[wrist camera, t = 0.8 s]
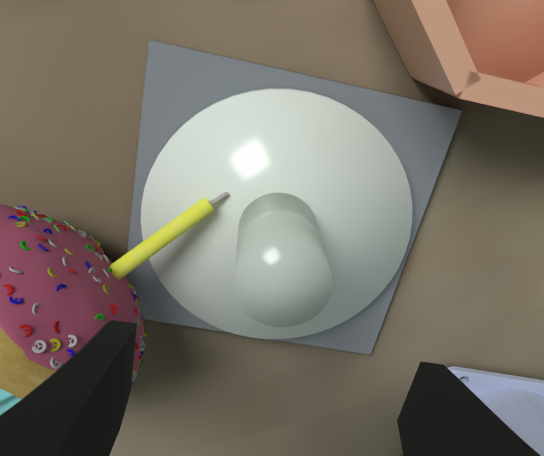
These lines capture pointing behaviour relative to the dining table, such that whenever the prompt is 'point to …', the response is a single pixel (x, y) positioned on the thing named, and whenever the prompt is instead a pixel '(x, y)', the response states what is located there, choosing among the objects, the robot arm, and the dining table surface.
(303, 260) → the lid
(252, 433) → the dining table surface
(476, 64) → the bowl
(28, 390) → the cupcake
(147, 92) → the mat
